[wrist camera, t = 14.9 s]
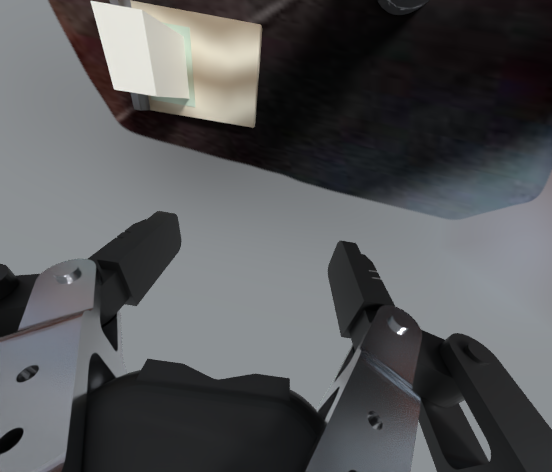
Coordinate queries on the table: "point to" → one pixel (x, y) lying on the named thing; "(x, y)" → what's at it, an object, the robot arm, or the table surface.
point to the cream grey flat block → (210, 66)
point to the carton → (142, 52)
